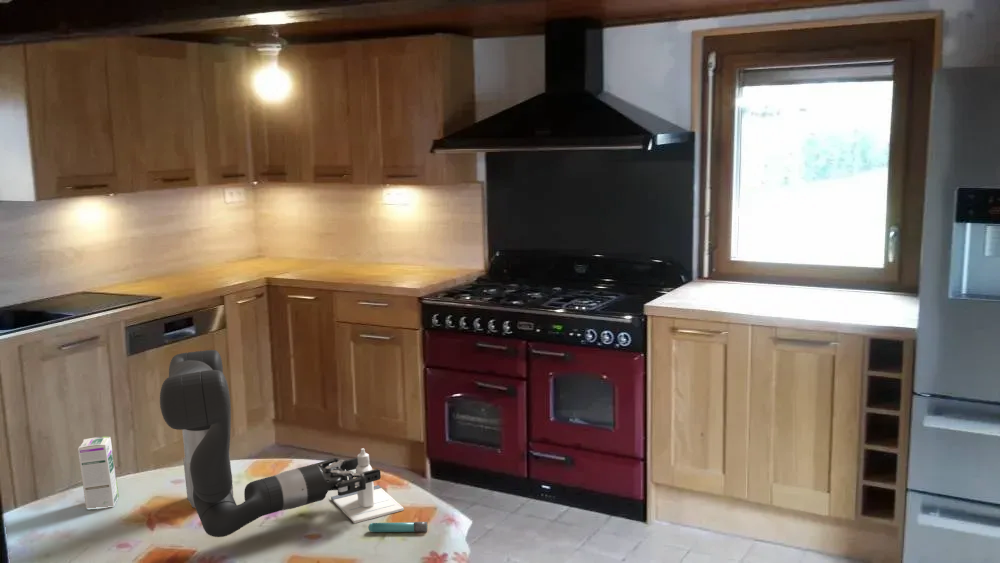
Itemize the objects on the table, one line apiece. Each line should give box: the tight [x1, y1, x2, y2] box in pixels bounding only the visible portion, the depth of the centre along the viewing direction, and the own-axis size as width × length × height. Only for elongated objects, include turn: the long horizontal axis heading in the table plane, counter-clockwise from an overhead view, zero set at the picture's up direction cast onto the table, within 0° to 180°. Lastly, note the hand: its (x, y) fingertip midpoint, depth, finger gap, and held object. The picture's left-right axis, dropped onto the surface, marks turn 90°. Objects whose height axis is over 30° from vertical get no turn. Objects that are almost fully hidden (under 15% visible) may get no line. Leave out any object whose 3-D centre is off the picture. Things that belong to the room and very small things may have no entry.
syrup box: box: [77, 436, 120, 509], centre depth 193 cm, size 6×6×14 cm
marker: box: [367, 521, 428, 533], centre depth 176 cm, size 12×2×2 cm, turn 87°
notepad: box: [330, 484, 405, 524], centre depth 189 cm, size 11×14×1 cm
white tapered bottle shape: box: [355, 447, 375, 507], centre depth 188 cm, size 4×6×12 cm
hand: (370, 467), depth 189 cm, fingers open, 8 cm apart
